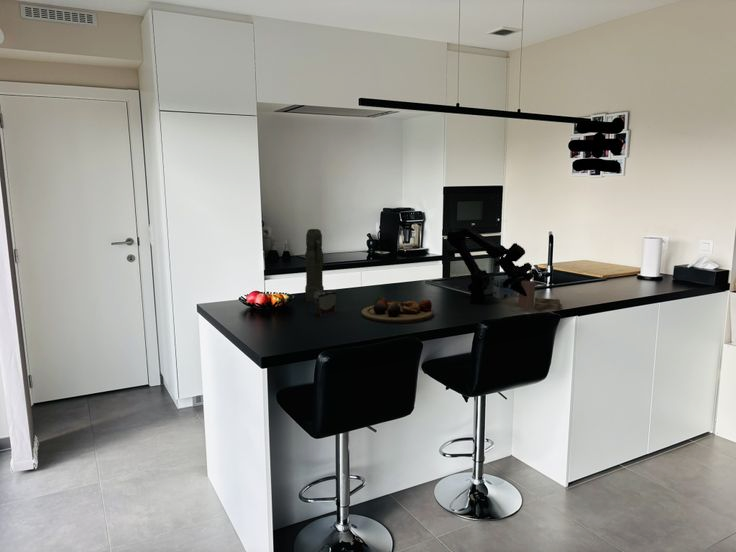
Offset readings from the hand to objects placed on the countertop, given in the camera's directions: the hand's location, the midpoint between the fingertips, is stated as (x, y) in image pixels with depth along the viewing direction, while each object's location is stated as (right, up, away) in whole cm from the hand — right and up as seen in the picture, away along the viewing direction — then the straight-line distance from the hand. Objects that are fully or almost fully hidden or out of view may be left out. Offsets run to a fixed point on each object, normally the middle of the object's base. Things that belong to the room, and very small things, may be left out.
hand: (529, 295), depth 253 cm
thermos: (-99, -4, +22) cm, 101 cm away
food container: (-93, -8, -4) cm, 93 cm away
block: (-1, -6, +2) cm, 6 cm away
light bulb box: (-3, -3, +34) cm, 34 cm away
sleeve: (+12, -6, +12) cm, 18 cm away
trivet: (-1, -8, +2) cm, 8 cm away
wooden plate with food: (-60, -9, -5) cm, 61 cm away
